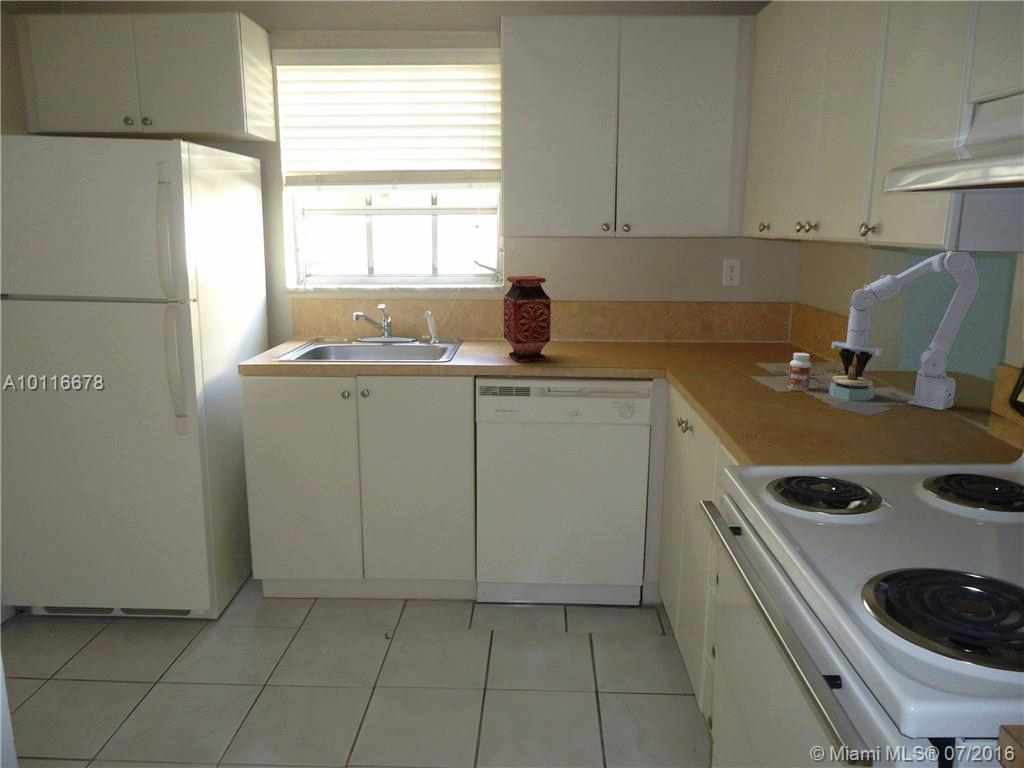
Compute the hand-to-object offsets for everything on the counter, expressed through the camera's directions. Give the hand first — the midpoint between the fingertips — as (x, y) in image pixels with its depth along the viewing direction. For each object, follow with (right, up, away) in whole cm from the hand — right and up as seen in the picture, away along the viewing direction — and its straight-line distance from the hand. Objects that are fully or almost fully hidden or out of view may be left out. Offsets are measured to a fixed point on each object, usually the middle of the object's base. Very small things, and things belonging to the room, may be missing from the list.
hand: (853, 375), depth 220 cm
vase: (-96, +7, +56) cm, 111 cm away
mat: (-3, -9, -12) cm, 16 cm away
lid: (0, -2, 0) cm, 2 cm away
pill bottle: (-12, -4, +11) cm, 17 cm away
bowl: (0, -6, +2) cm, 6 cm away
